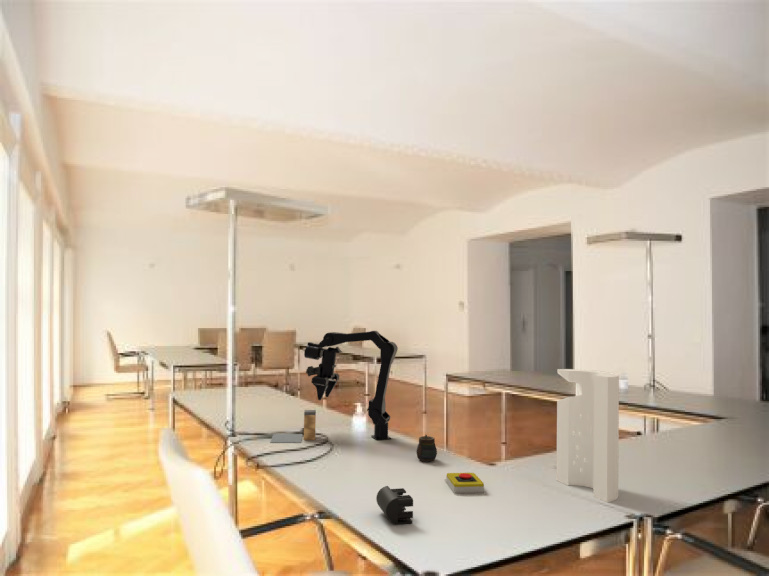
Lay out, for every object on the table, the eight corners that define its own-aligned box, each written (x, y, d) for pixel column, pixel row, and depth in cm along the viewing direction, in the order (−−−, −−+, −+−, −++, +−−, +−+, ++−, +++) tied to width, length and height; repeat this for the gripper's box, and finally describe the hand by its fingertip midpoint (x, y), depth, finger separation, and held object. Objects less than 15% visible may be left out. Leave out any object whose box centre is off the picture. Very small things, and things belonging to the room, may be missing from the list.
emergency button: (455, 482, 160) (443, 467, 175) (455, 497, 160) (443, 481, 175) (486, 481, 161) (472, 466, 176) (486, 496, 161) (472, 480, 176)
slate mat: (302, 434, 232) (302, 434, 232) (301, 442, 219) (301, 442, 219) (273, 434, 231) (273, 434, 231) (270, 442, 217) (270, 442, 217)
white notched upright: (604, 502, 157) (554, 480, 176) (634, 497, 161) (582, 477, 180) (605, 377, 158) (555, 369, 177) (635, 376, 162) (583, 368, 182)
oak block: (315, 437, 228) (315, 410, 229) (314, 439, 224) (315, 412, 224) (304, 437, 228) (304, 410, 228) (303, 439, 223) (304, 412, 224)
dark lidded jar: (435, 457, 200) (436, 429, 201) (438, 463, 193) (438, 434, 193) (415, 457, 200) (416, 429, 201) (417, 463, 193) (418, 434, 193)
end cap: (375, 512, 146) (376, 486, 146) (401, 510, 148) (402, 484, 148) (385, 527, 136) (386, 499, 137) (413, 524, 138) (413, 497, 138)
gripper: (318, 356, 246) (313, 392, 246) (302, 360, 228) (296, 398, 228) (342, 361, 244) (337, 396, 244) (327, 365, 226) (322, 403, 225)
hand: (323, 398), depth 235 cm, fingers open, 9 cm apart
